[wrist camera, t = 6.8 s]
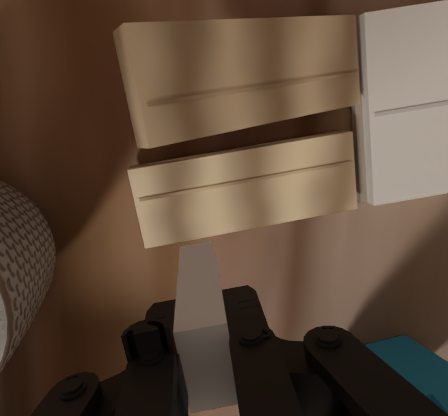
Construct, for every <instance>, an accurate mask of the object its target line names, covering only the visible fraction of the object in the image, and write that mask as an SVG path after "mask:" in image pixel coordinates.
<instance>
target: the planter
mask: <svg viewBox="0 0 448 416" xmlns="http://www.w3.org/2000/svg"><path fill="white" fill-rule="evenodd" d="M55 260H56V251H55V243H54V239H53V236H52V232H51V229H50V227H49V225H48V223H47V221H46V219H45V217H44V216H43V214H42V213H41V211H40V210H39V209H38V207H37V206H36V205H35V204H34V203H33V202H32V201H31V200H30V199H29V198H28V197H26V196H25V195H24V194H23V193H22V192H20V191H19V190H17V189H16V188H14V187H12V186H11V185H9V184H7V183H5V182H3V181H0V372H1V371H2V369H3V368H4V367H5V365H6V364H7V362H8V361H9V359H10V358H11V356H12V355H13V353H14V352H15V350H16V348H17V347H18V345H19V343H20V342H21V340H22V338H23V336H24V335H25V333H26V332H27V330H28V328H29V327H30V325H31V323H32V322H33V320H34V318H35V316H36V314H37V313H38V311H39V309H40V307H41V305H42V303H43V301H44V298H45V296H46V294H47V292H48V289H49V287H50V285H51V282H52V278H53V274H54V270H55Z"/></svg>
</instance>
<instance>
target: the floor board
mask: <svg viewBox="0 0 448 416" xmlns="http://www.w3.org/2000/svg"><path fill="white" fill-rule="evenodd" d="M356 31H357V49H358V67H359V85H360V104H358V105H353V106H351V112H352V128H353V145H354V161H355V177H356V194H357V202H359V203H367V202H368V203H369V204H371V205H373V206H376V205H382V204H387V203H393V202H399V201H405V200H410V199H416V198H422V197H427V196H433V195H439V194H445V193H448V0H443V1H436V2H430V3H423V4H417V5H410V6H404V7H397V8H391V9H385V10H378V11H372V12H365V13H363V14H361V15H359V16H357V17H356Z"/></svg>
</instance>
